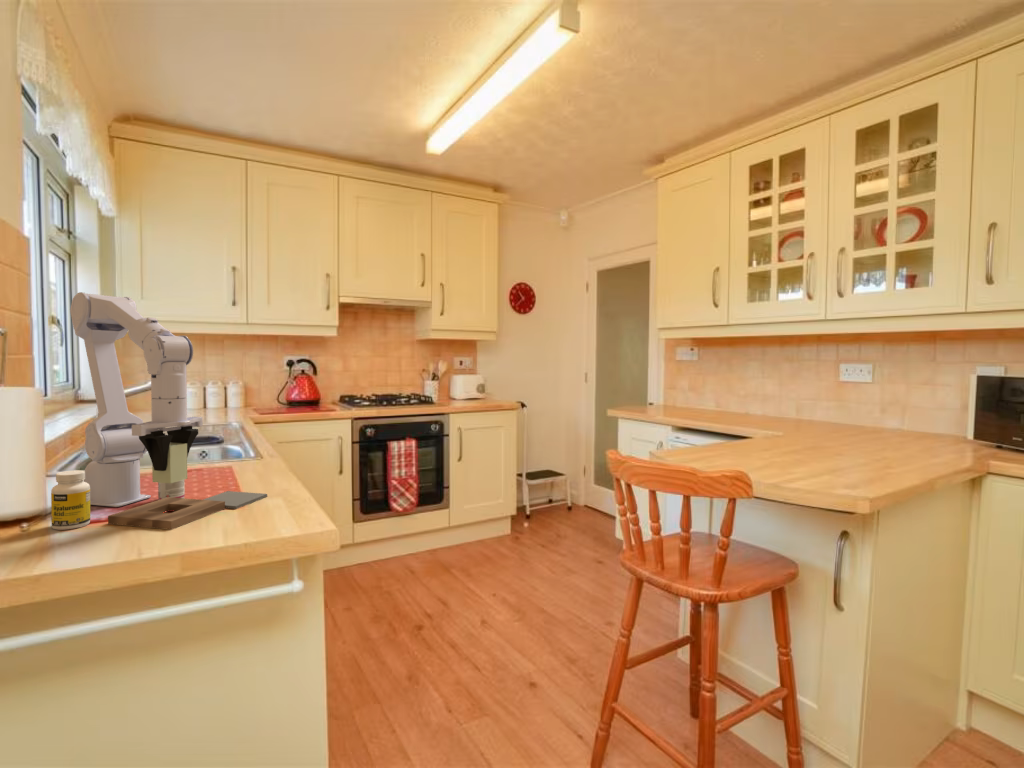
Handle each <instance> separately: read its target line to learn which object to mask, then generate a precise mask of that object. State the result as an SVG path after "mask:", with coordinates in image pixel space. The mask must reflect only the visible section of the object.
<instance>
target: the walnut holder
mask: <svg viewBox="0 0 1024 768" xmlns="http://www.w3.org/2000/svg"><path fill="white" fill-rule="evenodd" d="M168 510H174V511H172V512H169V511H168ZM223 510H226V508H225V501H213V500H203V499H198V498H197V499H196V498H186V497H184V498H173V497H167V498H164V499H161V500H159V499H157V500H154V501H151V502H149V503H145V504H142V505H138V506H136V507H132V508H128V509H126V510H123V511H120V512H117V513H113V514H109V515H107V525H115V526H116V525H118V526H126V527H127V526H129V527H139V528H151V529H161V530H174V529H177V528H179V527H181V526H184V525H187V524H189V523H192V522H194V521H196V520H199V519H202V518H204V517H207V516H209V515H213V514H215V513H218V512H220V511H223ZM165 511H168V512H165ZM163 512H165V513H163Z"/></svg>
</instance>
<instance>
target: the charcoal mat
mask: <svg viewBox="0 0 1024 768" xmlns="http://www.w3.org/2000/svg"><path fill="white" fill-rule="evenodd" d="M267 497H268V494H267V493H259V492H247V491H246V492H245V491H231V490H227V491H224V492H220V493H218V494H215V495H212V496H209V497H207V498H203V499H202V500H213V501H225V509H233V510H237V509H240V508H242V507H245V506H247V505H250V504H252V503H255V502H257V501H260V500H261V499H265V498H267Z"/></svg>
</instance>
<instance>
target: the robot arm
mask: <svg viewBox="0 0 1024 768" xmlns="http://www.w3.org/2000/svg"><path fill="white" fill-rule="evenodd" d="M69 310H70V316H71V322H72V326H73V330H74V333H75V336H77V337H79V338H81V339H82V340H83V342H84V346H85V350H86V355H87V361H88V362H87V363H88V367H89V372H90V377H91V381H92V386H93V391H94V397H95V401H96V405H97V413H98V416H97V417H96V418H95V419H93V420H92V421H90V423H88V424H87V426H86V427H85V429H84V432H85V441H84V448H85V452H86V455H87V457H88V458H89V459H91V460H92V461H90V462H89V463H88V464H87V465H86V467H85V468H84V471H85V479H84V480H83V481H84V482H86V483H88V484H89V485H90V506H101V507H115V508H117V507H119V508H120V507H122V506H126V505H129V504H134V503H137V502H139V501H142V500H146V499H149V498H151V496H152V495H151V494H141V466H140V465H141V461H140V460H141V459H143V458H144V455H145V454H146V453H148V456H149V458H150V461H151V464H153V468H154V470H156V471H165V470H166V468H167V462H168V450H169V445H170V443H187V458H188V457H189V454H190V450H191V447H192V445H193V443H194V442H195V439H196V438H197V436H198V435H199V429H198V428H199V427H204V425H203V421H204V419H203V416H188V411H187V410H188V406H187V405H188V404H187V402H188V398H187V397H188V393H187V391H188V390H187V388H188V386H187V381H188V380H187V377H188V375H187V366H188V365H189V364H191V362H192V360H193V357H194V346H193V344H192V341H191V340H190V339H189V337H188V336H187V335H175V334H173V333H172V332H171V331H170V330H169V329H168V328H166V327H164V326H163V325H162V324H161V323H159V320H158V319H157V318H156V317H144V316H143V315H142V314H141V313H140V312H139V311H138V310H137V304H136V301H135V300H134V299H132V298H131V297H130V296H129V297H128V296H123V297H122V296H114V295H103V294H94V293H92V294H91V293H86V292H80V291H79V292H77V293H76V294H75V295H74V296H73V298H72V300H71V306H70V309H69ZM127 333H128V337H129V339H130V340H131V341H132V342H133V343H134V345H135V344H136V346H138V348H140V349H141V350H142V351H143V357H144V360H145V362H146V365H147V367H146V368H147V372H148V373H147V374H148V375H150V380H151V381H150V392H151V394H150V396H151V397H150V398H151V400H150V401H151V402H150V403H151V404H150V405H151V406H150V407H151V420H150V421H146V422H144V419H142V418H141V417H139V416H137V415H136V414H134V413H132V412H130V411H129V409H128V403H127V398H126V394H125V389H124V384H123V379H122V374H121V370H120V364H119V361H118V355H117V349H116V346H115V342H116V341H117V340H120V339H123V338H125V337H126V335H127ZM194 427H196V428H194ZM165 432H166V433H167V434H166V433H165Z"/></svg>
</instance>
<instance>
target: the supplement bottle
mask: <svg viewBox="0 0 1024 768" xmlns="http://www.w3.org/2000/svg"><path fill="white" fill-rule="evenodd" d="M84 479H85V470H78V469H77V470H76V469H74V470H67V471H66V470H65V471H60V472H57V473H56V474H55V481H56V483H57V484H55V485H54V486H53V487H52V488H51V490H50V491H51V492H50V495H51V496H50V499H51V500H50V503H51V507H50V508H51V519H50V520H51V528H52V529H53V530H56V531H57V530H58V531H65V530H73V529H79V528H83V527H85V526H88V525H89V524H90V523H91V505H90V485H89V484H88V483H86V482H84Z"/></svg>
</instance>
